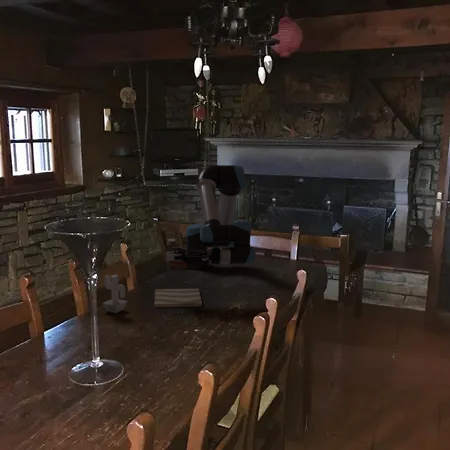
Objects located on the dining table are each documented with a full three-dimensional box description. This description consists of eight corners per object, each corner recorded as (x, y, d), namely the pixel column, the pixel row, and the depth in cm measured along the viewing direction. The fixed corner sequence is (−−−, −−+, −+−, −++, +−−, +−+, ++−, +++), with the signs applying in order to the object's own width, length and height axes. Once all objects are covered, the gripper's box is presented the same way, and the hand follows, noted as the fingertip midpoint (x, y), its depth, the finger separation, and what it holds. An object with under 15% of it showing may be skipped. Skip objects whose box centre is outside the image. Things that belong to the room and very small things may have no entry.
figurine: (118, 315, 202) (118, 279, 199) (100, 311, 206) (99, 275, 203) (129, 309, 208) (129, 275, 206) (111, 306, 212) (111, 271, 210)
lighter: (188, 268, 222) (188, 246, 220) (187, 270, 219) (187, 248, 217) (170, 268, 222) (170, 246, 221) (169, 270, 219) (169, 247, 217)
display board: (155, 292, 232) (155, 289, 231) (198, 291, 234) (198, 288, 234) (154, 307, 212) (154, 303, 212) (201, 306, 215) (201, 303, 214)
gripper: (222, 269, 214) (166, 269, 211) (217, 259, 231) (166, 259, 228) (222, 251, 213) (166, 252, 210) (217, 243, 229) (166, 243, 226)
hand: (166, 256), depth 219 cm, fingers closed on lighter, 4 cm apart
